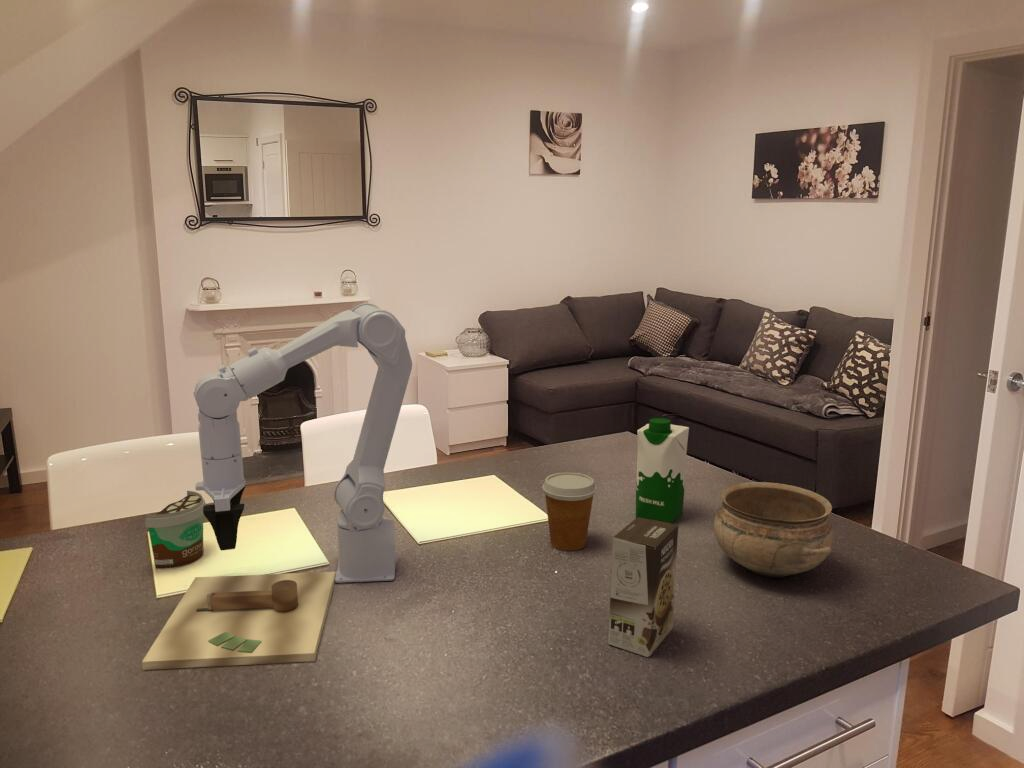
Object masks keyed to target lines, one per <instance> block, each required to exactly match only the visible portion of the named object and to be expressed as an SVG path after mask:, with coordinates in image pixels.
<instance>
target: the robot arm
mask: <svg viewBox="0 0 1024 768" xmlns="http://www.w3.org/2000/svg"><path fill="white" fill-rule="evenodd" d="M359 344H360V345H361V346H363V347H364V348H365V349H366V350H367V352H368V354H369V355H370V357H371V358H372V360H373V362H374V363H375V364H376V365H377V371H376V375H375V378H374V383H373V385H372V389H371V393H370V396H369V400H368V403H367V407H366V411H365V415H364V417H363V423H362V425H361V429H360V433H359V437H358V441H357V444H356V447H355V450H354V454H353V459H352V460H351V461H350V462H349V463H348V465H347V466H346V467H345V468H346V469H345V471H344V474H343V475H342V477H341V479H340V480H339V481H338V482H337V483H336V485H335V487H334V491H333V497H334V501H335V502H336V504H337V505H338V507H339V508H340V512H339V515H338V517H337V518H336V519H337V520H336V525H337V528H336V529H337V545H338V547H337V548H338V564H337V568H336V571H335V572H336V576H335V583H337V584H338V583H339V584H340V583H362V582H363V583H364V582H365V583H366V582H385V581H386V582H387V581H388V582H389V581H394V580H395V575H396V567H397V566H396V565H397V564H398V551H397V549H396V525H395V524H396V522H395V519H390V518H389V519H388V518H383V516H384V513H385V502H384V492H385V490H386V482H385V481H386V480H385V473H384V469H385V468H386V467H385V466H386V463H387V459H388V455H389V452H390V448H391V445H392V440H393V437H394V435H395V434H394V433H395V430H396V426H397V422H398V419H399V416H400V414H401V413H400V412H401V409H402V405H403V401H404V398H405V394H406V390H407V387H408V383H409V380H410V376H411V373H412V369H413V360H412V358H411V357H412V356H411V353H410V351H409V346H408V342H407V339H406V328H405V327H404V326H403V324H401V323H400V321H399V320H398V318H397V317H396V316H395V315H394V314H393V313H392V312H390V311H388V310H385V309H381V308H380V307H378V306H376V305H375V304H373V303H367V302H366V303H360V304H358V305H356V306H354V307H353V308H352V309H351V310H350V309H347V310H344V311H341V312H340V313H338V314H336V315H335V316H333V317H331V318H330V319H327V320H326V321H324V322H322V323H321V324H319V325H317V326H315V327H313V328H312V329H310V330H308V331H307V332H305V333H303V334H301V335H300V336H298V337H297V338H294V339H293V340H292V341H289V342H288V343H286V344H285V345H282V346H281V347H279V348H278V349H273V348H269V347H265V346H264V347H262V348H260V349H257V348H256V347H253V348H251V349H248V350H247V353H248V355H247V356H244V357H242V358H240V359H239V360H236V362H233V363H231V364H229V365H227V366H225V364H222V365H221V366H219V367H217V369H218V371H219V372H209V373H206V374H204V375H203V376H202V377H200V378H199V379H198V382H197V383H196V384H195V386H194V391H193V397H194V399H195V401H196V406H197V407H198V414H197V420H198V422H199V424H198V428H197V429H198V438H199V440H198V441H199V450H200V458H201V459H200V461H201V468H202V469H201V470H202V478H203V481H197V482H196V483H195V485H194V486H195V488H194V489H195V491H197V492H198V491H204V492H205V493H206V494H207V495H208V496H209V497H210V498H211V499H212V500H213V503H214V504H208V505H207V504H206V505H205V506H204V507H203V513H204V514H203V516H204V517H205V518H206V519H207V521H208V522H209V524H210V525H211V528H212V530H213V532H214V536H215V539H216V543H217V545H218V548H219V550H220V551H222V552H223V551H227V550H228V551H229V550H230V551H231V550H235V549H236V547H237V540H238V528H239V522H240V520H241V516H242V515H243V511H244V509H245V503H241V500H242V496H243V494H244V491H245V489H246V483H247V482H246V478H245V477H244V476H245V475H244V463H243V462H244V461H243V451H242V440H241V429H240V422H239V420H238V412H237V410H238V408H239V406H240V404H241V402H246V401H249V400H251V399H252V398H254V397H256V396H257V395H259V394H261V393H263V392H265V391H266V390H269V389H270V388H272V387H274V386H276V385H278V384H279V383H281V382H283V381H285V378H286V375H287V372H288V370H289V369H290V368H292V367H294V366H296V365H298V364H300V363H303V362H305V361H307V360H309V359H312V358H313V357H314V356H315V357H316V356H317V355H319V354H321V353H324V352H325V351H327V350H330V349H331V348H333V347H335V346H336V347H337V346H338V347H349V348H358V347H359Z"/></svg>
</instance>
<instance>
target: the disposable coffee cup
mask: <svg viewBox="0 0 1024 768" xmlns="http://www.w3.org/2000/svg"><path fill="white" fill-rule="evenodd" d="M541 488H542V491H543V493H544V494H545V497H544V498H545V504H546V511H547V512H546V513H547V521H548V530H549V532H548V533H549V536H550V537H549V539H550V545H551V547H553V548H555V549H557V550H561V551H569V552H570V551H578V550H581V549H583V548H585V547H586V544H587V538H588V531H589V525H590V519H591V512H592V506H593V499H594V495H595V494H596V491H597V486H596V484H595V481H594V478H592V477H591V476H589V475H587V474H584V473H583V474H582V473H578V472H557V473H553V474H550V475H548V476H547V477H545V479H544V483H543V485H542V487H541Z"/></svg>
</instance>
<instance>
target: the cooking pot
mask: <svg viewBox="0 0 1024 768" xmlns="http://www.w3.org/2000/svg"><path fill="white" fill-rule="evenodd" d="M719 494H720V499H721V504H720V505H719V507H718V509H717V511H716V514H715V517H714V521H713V533H714V536H715V539H716V541H717V544H718V546H719V547H720V549H721V551H723V552H724V554H726V556H728V557H729V558H730V559H732V560H733V561H734V562H736V563H737V564H739V565H740V566H742V567H744V568H745V569H747V570H750V571H751V572H752V571H753V573H754V572H755V573H754V574H756V573H757V575H758V574H759V575H758V576H761V575H763V576H762V577H765V576H768V577H767V578H771V577H781V578H785V577H788V576H791V575H797V574H800V573H804V572H808V571H810V570H812V569H815V568H816V567H817V566H819V565H820V564H822V563H823V562H824V561H825V560H826V558H827V557H828V556H829V555H830V554H831V553H832V549H833V547H834V546H833V545H834V539H835V538H834V537H835V534H834V529H833V524H832V520H831V518H830V515H829V514H830V513H831V512H832V511H833V510H832V509H833V506H832V503H830V501H829V500H828V499H827V498H826V497H825V496H823V495H820V494H819V493H817V492H814V491H812V490H809V489H806V488H804V487H803V488H802V487H799V486H796V485H795V486H794V485H789V484H784V483H779V482H767V481H755V482H754V481H751V482H750V481H749V482H741V483H735V484H733V485H730V486H727V487H725V488H723V489H722V491H721V492H720V493H719Z"/></svg>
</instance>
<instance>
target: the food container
mask: <svg viewBox="0 0 1024 768" xmlns="http://www.w3.org/2000/svg"><path fill="white" fill-rule="evenodd" d="M205 505H207V504H206V500H205V498H204V497H203V495H202V493H199V492H198V491H197V492H196V491H194V490H193V491H192V490H186V496H184V497H183V498H182V499H180V500H178V501H176V502H175V501H174V502H172V503H169V504H167V506H165V507H164V508H162V510H161V511H159V512H158V513H156V514H148V513H146V514H145V516H146V517H145V524H144V525H145V526H144V527H145V528H148V534H149V538H150V544H151V549H152V550H151V551H152V555H153V559H154V566H155V569H159V570H160V569H161V570H164V569H175V568H180V567H184V566H187V565H190V564H193V563H195V562H196V561H198V560H200V559H201V558H202V557H203V555H204V513H203V507H204V506H205Z"/></svg>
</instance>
